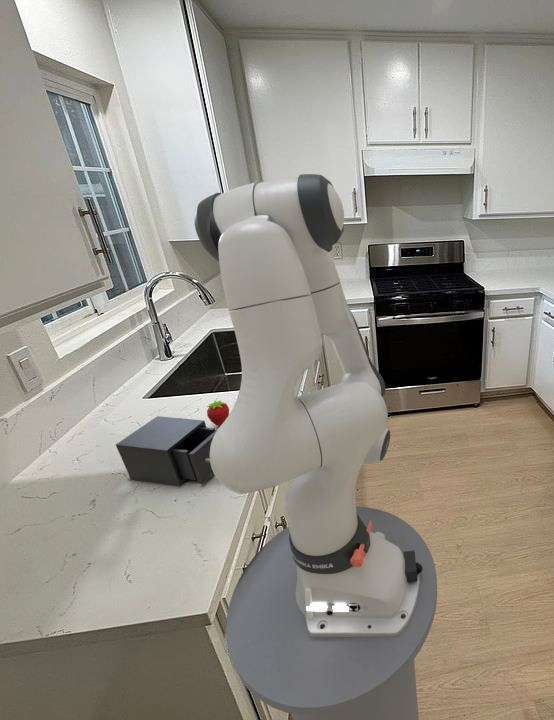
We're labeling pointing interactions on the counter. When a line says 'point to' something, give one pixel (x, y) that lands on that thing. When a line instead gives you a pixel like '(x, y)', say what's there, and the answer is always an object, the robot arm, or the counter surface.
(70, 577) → the counter surface
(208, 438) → the dark grey drawer
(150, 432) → the drawer box
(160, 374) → the counter surface
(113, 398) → the counter surface
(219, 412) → the strawberry
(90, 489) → the counter surface
